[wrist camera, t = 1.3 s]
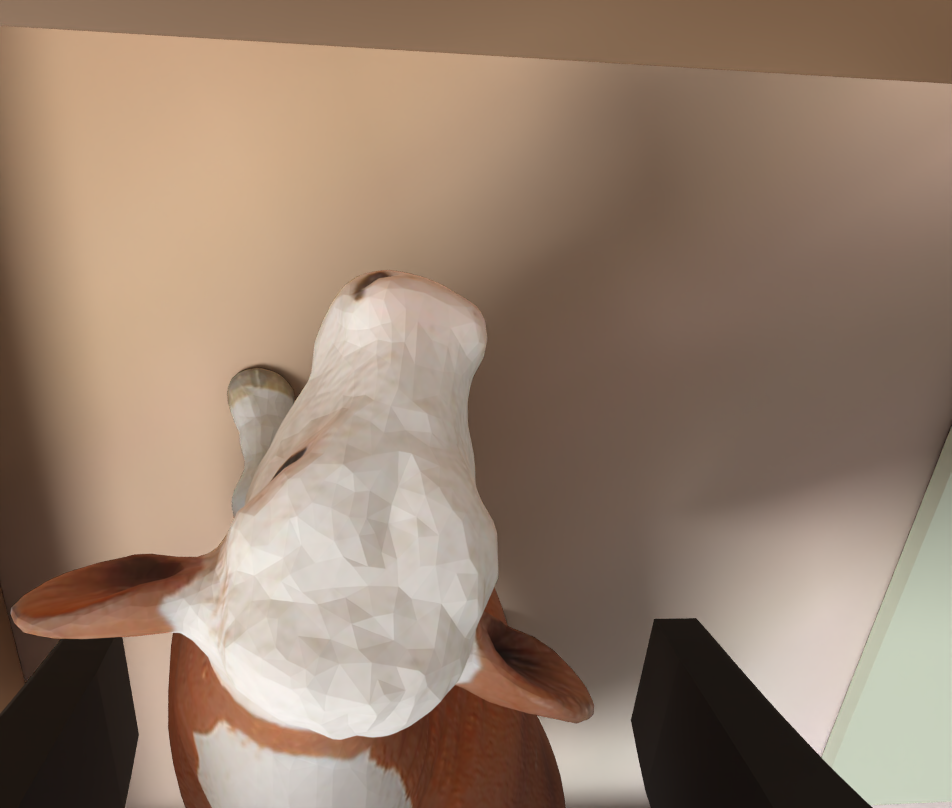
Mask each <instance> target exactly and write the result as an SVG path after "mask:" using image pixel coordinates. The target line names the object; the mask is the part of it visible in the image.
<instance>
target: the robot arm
mask: <svg viewBox="0 0 952 808" xmlns="http://www.w3.org/2000/svg"><path fill="white" fill-rule="evenodd" d="M631 722H632V727H633V733H634V738H635V743H636V748H637V753H638V758H639V763H640V768H641V772H642V777H643V781H644V786H645V791H646V794H647V797H648V800H649V803H650V807H651V808H872V807H871V806H870V805H869V804H868V803H867V802H866V801H865V800H864V799H863V798H862V797H861V796H860V795H859V794H858V793H857V792H856V791H855V790H854V789H853V788H852V787H851V786H850V785H848V784H847V783H846V782H845V781H844V780H843V779H842V778H841V777H840V776H839V775H838V774H837V773H836V772H835V771H834V770H833V769H832V768H831V767H830V766H829V765H828V764H827V763H826V762H825V761H824V760H823V759H822V758H821V757H820V756H819V755H818V754H817V753H816V752H815V750H814V749H813V748H812V747H811V746H810V745H809V744H808V743H807V742H806V741H805V740H804V739H803V738H802V737H801V736H800V734H799V733H798V732H797V731H796V730H795V729H794V728H793V727H792V726H791V725H790V724H789V723H788V722H787V721H786V720H785V718H784V717H783V716H782V715H781V714H780V713H779V712H778V711H777V710H776V709H775V708H774V706H773V705H772V704H771V703H770V702H769V701H768V700H767V699H766V698H765V696H764V695H763V694H762V693H761V692H760V691H759V690H758V689H757V687H756V686H755V685H754V684H753V683H752V682H751V681H750V679H749V678H748V677H747V676H746V675H745V674H744V673H743V671H742V670H741V669H740V668H739V667H738V666H737V665H736V663H735V662H734V661H733V660H732V659H731V658H730V656H729V655H728V654H727V653H726V652H725V651H724V649H723V648H722V647H721V646H720V645H719V644H718V643H717V641H716V640H715V639H714V638H713V637H712V636H711V634H710V633H709V632H708V631H707V630H706V629H705V628H704V626H703V625H702V624H701V623H700V622H699V621H698V620H697V619H696V618H689V619H654V622H653V627H652V631H651V635H650V640H649V644H648V648H647V653H646V657H645V661H644V666H643V670H642V675H641V679H640V683H639V688H638V692H637V696H636V701H635V705H634V709H633V714H632V718H631ZM138 736H139V733H138V728H137V722H136V716H135V710H134V704H133V698H132V692H131V686H130V680H129V674H128V668H127V663H126V657H125V651H124V645H123V639H122V637H112V638H93V639H61V640H60V641H59V642H58V644H57V645H56V646H55V647H54V649H53V650H52V651H51V652H50V654H49V655H48V656H47V657H46V659H45V660H44V661H43V662H42V664H41V665H40V666H39V667H38V669H37V670H36V671H35V672H34V673H33V675H32V676H31V677H30V678H29V680H28V681H27V682H26V683H25V684H24V686H23V687H22V688H21V689H20V691H19V692H18V693H17V694H16V695H15V697H14V698H13V699H12V700H11V701H10V703H9V704H8V705H7V706H6V707H5V708H4V710H3V711H2V712H1V713H0V808H125V803H126V798H127V794H128V789H129V784H130V779H131V774H132V768H133V763H134V757H135V752H136V747H137V741H138Z"/></svg>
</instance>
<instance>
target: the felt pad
mask: <svg viewBox="0 0 952 808" xmlns="http://www.w3.org/2000/svg"><path fill="white" fill-rule="evenodd" d="M821 758H822V759H823V760H824V761H825V762H826V763H827V764H828V765H829V766H830V767H831V768H832V769H833V770H834V771H835V772H836V773H837V774H838V775H839V776H840V777H841V778H842V779H843V780H844V781H845V782H846V783H847V784H848V785H850V786H851V787H852V788H853V789H854V790H855V791H856V792H857V793H858V794H859V795H860V796H861V797H862V798H863V799H864V800H865V801H866V802H867V803H868V804H869V805H887V804H910V803H933V802H952V427H951V429H950V432H949V434H948V437H947V439H946V442H945V444H944V447H943V449H942V452H941V455H940V457H939V460H938V462H937V465H936V467H935V470H934V472H933V475H932V477H931V480H930V483H929V485H928V488H927V490H926V493H925V495H924V498H923V500H922V503H921V505H920V508H919V510H918V513H917V516H916V518H915V521H914V523H913V526H912V528H911V531H910V533H909V536H908V538H907V541H906V544H905V546H904V549H903V551H902V554H901V556H900V559H899V561H898V564H897V566H896V569H895V571H894V574H893V577H892V579H891V582H890V584H889V587H888V589H887V592H886V594H885V597H884V599H883V602H882V605H881V607H880V610H879V612H878V615H877V617H876V620H875V622H874V625H873V627H872V630H871V633H870V635H869V638H868V640H867V643H866V645H865V648H864V650H863V653H862V655H861V658H860V660H859V663H858V666H857V668H856V671H855V673H854V676H853V678H852V681H851V683H850V686H849V688H848V691H847V694H846V696H845V699H844V701H843V704H842V706H841V709H840V711H839V714H838V716H837V719H836V722H835V724H834V727H833V729H832V732H831V734H830V737H829V739H828V742H827V744H826V747H825V749H824V752H823V755H822V757H821Z"/></svg>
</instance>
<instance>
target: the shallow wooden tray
mask: <svg viewBox="0 0 952 808" xmlns="http://www.w3.org/2000/svg"><path fill="white" fill-rule="evenodd" d="M0 26H14V27H31V28H47V29H63V30H80V31H96V32H113V33H129V34H145V35H162V36H178V37H195V38H211V39H227V40H244V41H260V42H277V43H293V44H309V45H326V46H342V47H359V48H375V49H391V50H408V51H424V52H441V53H457V54H473V55H490V56H506V57H523V58H539V59H555V60H572V61H588V62H605V63H621V64H637V65H654V66H670V67H687V68H703V69H719V70H736V71H752V72H769V73H785V74H801V75H818V76H834V77H851V78H867V79H883V80H900V81H916V82H933V83H949V84H952V0H0ZM24 684H25V681H24V677H23V673H22V669H21V665H20V661H19V657H18V653H17V649H16V645H15V641H14V637H13V633H12V629H11V625H10V621H9V617H8V613H7V609H6V605H5V601H4V597H3V593H2V589H1V585H0V713H1V712H2V711H3V710H4V708H5V707H6V706H7V705H8V704H9V703H10V701H11V700H12V699H13V698H14V697H15V695H16V694H17V693H18V692H19V691H20V689H21V688H22V687H23V686H24Z"/></svg>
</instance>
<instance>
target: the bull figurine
mask: <svg viewBox="0 0 952 808" xmlns="http://www.w3.org/2000/svg"><path fill="white" fill-rule="evenodd" d="M486 344H487V331H486V323H485V319H484V317H483V315H482V313H481V312H480V310H479V309H478V307H477V306H476V305H474V304H473V303H471V302H470V301H469V300H467V299H465V298H464V297H462V296H460V295H458V294H457V293H455V292H453V291H452V290H450V289H449V288H447V287H445V286H444V285H441V284H439V283H436V282H434V281H432V280H429V279H427V278H424V277H421V276H417V275H414V274H410V273H404V272H399V271H393V270H381V271H375V272H369V273H365V274H363V275H360V276H357V277H356V278H354V279H353V280H351V281H350V282H349V283H347V284H346V285H345V286H344V287H343V288H342V289H341V290H340V292H339V293H338V294H337V296H336V297H335V299H334V300H333V301H332V303H331V305H330V307H329V309H328V312H327V314H326V316H325V318H324V320H323V322H322V324H321V326H320V329H319V332H318V334H317V337H316V340H315V344H314V354H313V363H312V372H311V375H310V378H309V380H308V382H307V384H306V385H305V387H304V388H303V390H302V392H301V393H300V395H299V396H298V398H297V399H296V401H295V402H294V397H295V396H294V392H293V389H292V387H291V386H290V385H289V383H288V382H287V381H286V380H285V379H284V378H283V377H282V376H281V375H279V374H277V373H275V372H273V371H270V370H266V369H262V368H254V369H248V370H244V371H242V372H240V373H238V374H237V375H236V376H234V377H233V378H232V379H231V381H230V384H229V386H228V391H227V398H228V404H229V407H230V411H231V414H232V417H233V420H234V423H235V425H236V427H237V429H238V431H239V436H240V445H241V450H242V453H243V456H244V460H245V468H244V471H243V474H242V476H241V478H240V480H239V482H238V484H237V486H236V488H235V490H234V493H233V496H232V510H233V516H234V519H233V521H232V523H231V526H230V530H229V531H228V533H227V535H226V536H225V538H224V539H223V540H222V542H221V543H220V545H219V546H218V547H217V548H216V549H215V550H213V551H211V552H210V553H208V554H205V555H202V556H199V557H174V556H165V555H156V554H137V555H131V556H127V557H123V558H119V559H114V560H109V561H104V562H100V563H96V564H93V565H90V566H86V567H83V568H80V569H77V570H73V571H70V572H67V573H64V574H62V575H60V576H57V577H55V578H53V579H51V580H48V581H46V582H45V583H43V584H42V585H40V586H38V587H37V588H35V589H33V590H32V591H30V592H28V593H27V594H25V595H24V596H23V597H22V598H21V599H20V600H19V601H18V602H17V603H15V604H14V605H13V606H12V607H11V613H10V614H11V616H12V619H13V621H14V623H15V624H16V625H17V626H18V627H19V628H20V629H21V630H22V631H23V632H24V633H28V634H33V635H37V636H43V637H49V638H58V639H93V638H112V637H130V636H142V635H151V634H160V633H173V637H172V644H171V657H170V673H169V690H168V730H169V738H170V746H171V752H172V759H173V764H174V769H175V773H176V777H177V781H178V785H179V789H180V793H181V796H182V799H183V802H184V805H185V807H186V808H566V807H565V799H564V792H563V787H562V782H561V777H560V773H559V769H558V766H557V763H556V759H555V756H554V754H553V751H552V748H551V745H550V743H549V740H548V738H547V736H546V733H545V731H544V729H543V727H542V725H541V723H540V721H539V719H538V717H537V715H538V716H543V717H548V718H553V719H558V720H562V721H567V722H572V723H579V722H582V721H584V720H587V719H589V718H590V717H591V716H592V715H593V712H594V704H593V700H592V698H591V696H590V694H589V692H588V690H587V688H586V687H585V685H584V684H583V682H582V681H581V680H580V678H579V677H578V676H577V675H576V673H575V672H574V671H573V670H572V669H571V668H570V667H569V666H568V665H567V663H566V662H565V661H564V660H563V659H562V658H561V657H560V656H559V655H558V654H557V653H556V652H555V651H554V650H552V649H551V648H549V647H548V646H546V645H545V644H544V643H542V642H541V641H539V640H538V639H536V638H535V637H533V636H530V635H528V634H525V633H523V632H521V631H518V630H516V629H513V628H511V627H509V626H508V625H507V622H506V619H505V615H504V612H503V609H502V606H501V603H500V601H499V598H498V595H497V593H496V590H495V587H494V586H495V584H496V582H497V580H498V542H497V532H496V528H495V524H494V522H493V520H492V518H491V516H490V514H489V513H488V511H487V509H486V508H485V506H484V504H483V503H482V500H481V498H480V496H479V493H478V491H477V487H476V483H475V461H474V453H473V448H472V443H471V438H470V433H469V427H468V397H469V392H470V386H471V383H472V379H473V376H474V374H475V373H476V371H477V369H478V367H479V365H480V363H481V361H482V360H483V358H484V354H485V349H486Z"/></svg>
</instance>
